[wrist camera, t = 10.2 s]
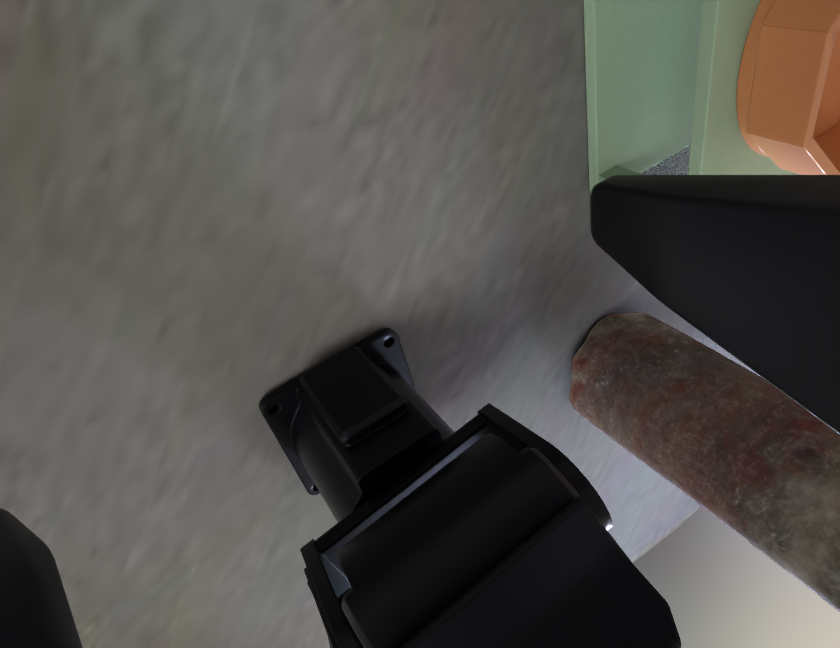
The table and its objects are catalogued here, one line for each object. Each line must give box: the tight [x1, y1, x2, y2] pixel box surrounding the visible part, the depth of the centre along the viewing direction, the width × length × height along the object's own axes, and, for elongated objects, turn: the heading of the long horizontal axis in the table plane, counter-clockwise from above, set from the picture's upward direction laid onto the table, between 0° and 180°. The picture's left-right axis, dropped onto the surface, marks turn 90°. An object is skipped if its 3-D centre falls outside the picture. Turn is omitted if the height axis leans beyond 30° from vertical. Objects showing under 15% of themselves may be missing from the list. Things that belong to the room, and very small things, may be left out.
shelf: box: [584, 0, 796, 193], centre depth 25 cm, size 12×12×6 cm
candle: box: [569, 312, 840, 612], centre depth 30 cm, size 8×7×20 cm
